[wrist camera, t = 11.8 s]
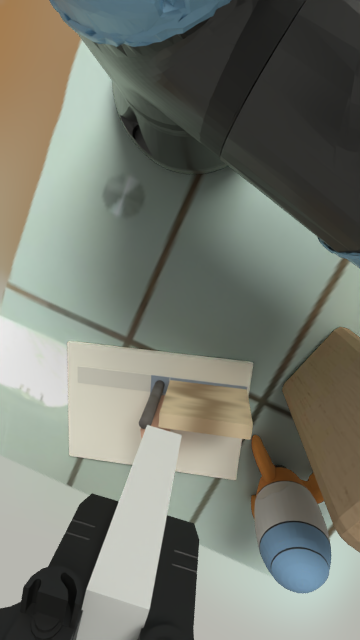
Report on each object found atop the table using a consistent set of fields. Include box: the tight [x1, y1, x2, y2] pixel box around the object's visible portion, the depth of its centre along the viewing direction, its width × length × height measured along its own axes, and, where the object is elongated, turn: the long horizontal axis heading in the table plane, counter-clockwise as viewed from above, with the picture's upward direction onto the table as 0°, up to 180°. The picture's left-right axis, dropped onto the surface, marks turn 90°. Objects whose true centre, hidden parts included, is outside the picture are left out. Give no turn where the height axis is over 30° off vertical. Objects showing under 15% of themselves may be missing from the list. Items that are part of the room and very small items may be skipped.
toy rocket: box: [251, 435, 331, 593], centre depth 35 cm, size 10×11×15 cm
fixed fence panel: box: [139, 380, 253, 440], centre depth 35 cm, size 11×2×9 cm, turn 85°
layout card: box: [67, 341, 253, 480], centre depth 41 cm, size 16×22×1 cm
